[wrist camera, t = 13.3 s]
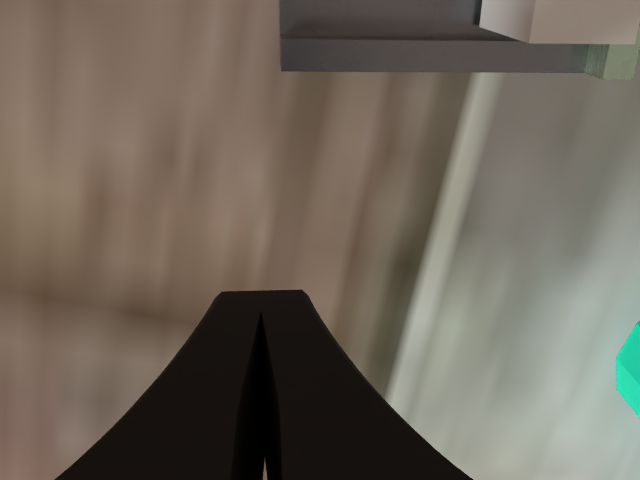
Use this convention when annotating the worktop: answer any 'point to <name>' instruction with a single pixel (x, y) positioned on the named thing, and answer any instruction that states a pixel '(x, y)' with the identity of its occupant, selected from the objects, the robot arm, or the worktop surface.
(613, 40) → the slider
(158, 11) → the worktop surface
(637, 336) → the candle
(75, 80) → the worktop surface
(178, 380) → the robot arm
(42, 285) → the worktop surface
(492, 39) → the slider track
